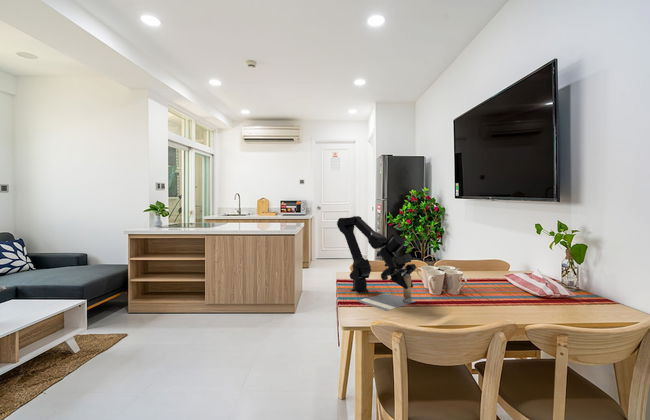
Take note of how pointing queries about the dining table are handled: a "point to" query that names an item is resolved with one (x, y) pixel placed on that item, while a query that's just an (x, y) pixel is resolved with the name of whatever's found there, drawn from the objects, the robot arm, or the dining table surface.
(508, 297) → the dining table surface
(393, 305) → the subfloor board
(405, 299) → the tan cylinder
